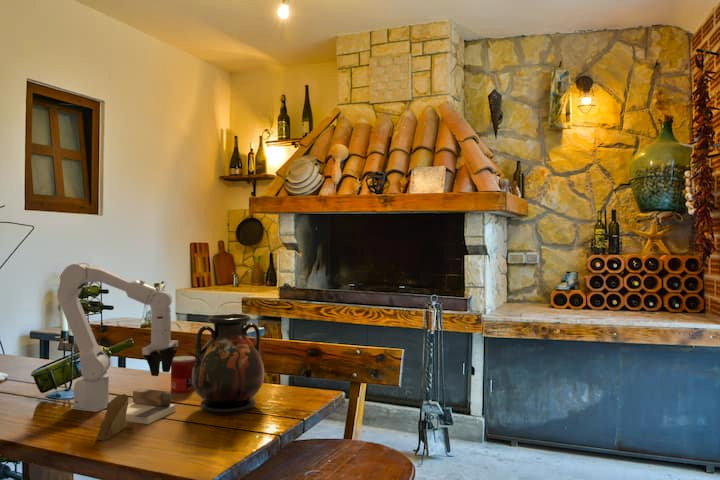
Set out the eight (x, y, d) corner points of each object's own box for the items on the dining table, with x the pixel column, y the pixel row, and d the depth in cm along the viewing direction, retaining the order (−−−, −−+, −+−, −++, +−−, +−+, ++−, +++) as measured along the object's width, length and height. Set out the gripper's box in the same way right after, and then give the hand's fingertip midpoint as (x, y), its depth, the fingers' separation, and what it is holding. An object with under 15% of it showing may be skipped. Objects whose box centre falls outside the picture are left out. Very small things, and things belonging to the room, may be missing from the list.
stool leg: (172, 403, 161) (172, 392, 161) (166, 406, 158) (166, 394, 158) (139, 399, 165) (139, 388, 165) (132, 402, 162) (132, 390, 162)
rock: (107, 435, 135) (141, 419, 143) (91, 405, 137) (126, 391, 145) (89, 453, 140) (123, 436, 148) (74, 424, 142) (108, 409, 150)
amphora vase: (196, 423, 151) (197, 323, 151) (187, 402, 170) (188, 313, 171) (272, 414, 160) (272, 319, 160) (255, 395, 179) (255, 310, 179)
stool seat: (108, 419, 153) (108, 412, 154) (139, 406, 166) (139, 400, 166) (146, 424, 149) (146, 417, 149) (175, 411, 162) (175, 404, 162)
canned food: (191, 393, 180) (191, 360, 180) (167, 393, 180) (167, 360, 181) (198, 387, 188) (198, 355, 188) (175, 387, 188) (175, 355, 188)
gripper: (156, 334, 161) (155, 380, 160) (186, 327, 174) (185, 369, 174) (136, 333, 163) (136, 378, 163) (167, 326, 177) (167, 367, 176)
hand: (160, 373), depth 169 cm, fingers open, 5 cm apart
